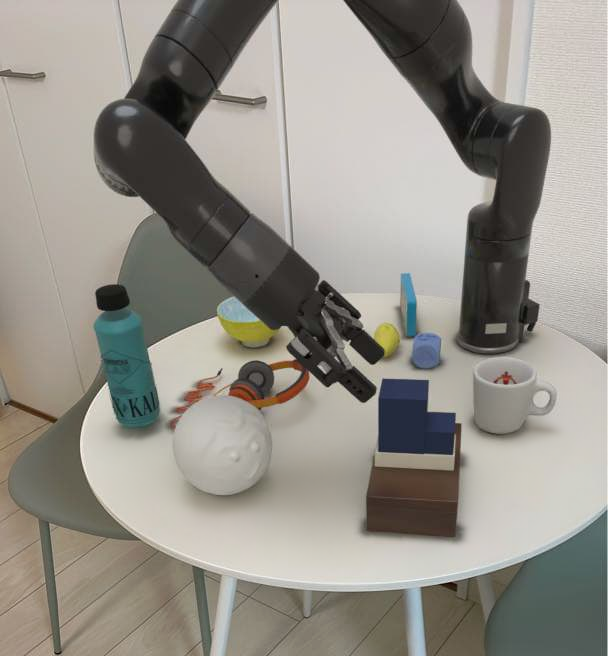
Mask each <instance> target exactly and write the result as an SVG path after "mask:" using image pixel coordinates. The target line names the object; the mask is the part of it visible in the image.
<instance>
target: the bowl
mask: <svg viewBox="0 0 608 656" xmlns="http://www.w3.org/2000/svg"><path fill="white" fill-rule="evenodd" d="M216 314H217V317H218V320H219V323H220V325H221V326H222V328H223V330H224V331H225V332H226V333H227V334H228V335H229V336H230V337H232V338H234V339H235V340H237V341H240V342H241V344H242V345H243V346H245V347H247V348H260V347H263V346H266V345H267V344H268V343H269V342H270V338H272V337H273V336H274V335H276V334H277V333H278V332H279V331H280V330H281V328H279V329H277V330H271V329H270V328H268V327H267V326H266V325H265V324H264V323H263V322H262V321H261V320H260V319H258V318H257V317H256V316H255V315H254V314H253V313H252V312H251V311H250V310H248V309H247V308H246V307H245V306H244V305H243V304H242V303H241V302H240V301H239V300H237V299H236V298H235V297H234V296H231V297H229V298H226V299H225V300H223V301H222V302H220V303H219V304H218V306H217V308H216Z"/></svg>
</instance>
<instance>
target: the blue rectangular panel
mask: <svg viewBox="0 0 608 656" xmlns="http://www.w3.org/2000/svg"><path fill="white" fill-rule="evenodd" d="M399 292H400V293H399V294H400V299H399V310H400V314H401V319H402V323H403V328H404V333H405V337H406V338H411V337H412V338H414V337H415V336H416V335H417V307H418V306H417V305H418V301H417V296H416V293H415V289H414V284H413V281H412V275H411V273H410V272H403V273H400V291H399Z"/></svg>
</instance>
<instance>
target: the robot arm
mask: <svg viewBox="0 0 608 656" xmlns="http://www.w3.org/2000/svg"><path fill="white" fill-rule="evenodd" d="M279 1H280V0H177V1H176V2H175V4H174V5H173V6H172V8H171V10H170V11H169V13H168V14H167V16H166V18H165V20H164V21H163V23H162V24H161V25H160V27H159V29H158V30H157V32H156V33H155V35H154V37H153V38H152V41H150V43H149V45H148V47H147V49H146V51H145V53H144V56H143V58H142V60H141V64H140V67H139V71H138V74H137V76H136V78H135V80H134V81H133V83H132V85H131V87H130V88H129V89H128V92H127V93H126V94H125V96H124V98H119V99H116V100H114V101H112V102H110V103H108V104H107V105H106V106H104V108H103V109H102V110H101V111H100V112H99V115H98V116H97V119H96V121H95V124H94V129H93V161H94V164H95V168H96V171H97V173H98V175H99V177H100V178H101V180H102V181H103V183H104V184H105V185H106V187H108V188H109V189H110V190H111V191H113V192H114V193H116V194H117V195H121V196H124V197H126V198H127V197H129V198H138V197H139V198H141V200H142V201H143V202H144V203H146V204H147V205H148V206H149V207H150V208H151V209H152V210H153V211H154V212H155V213H156V214H157V215H158V216H160V218H161V219H162V220H163V221H164V223H165V225H166V228H167V229H168V231H169V234H170V235H171V236H172V238H174V239H175V241H176V242H177V243H178V244H180V246H182V248H184V249H185V250H186V251H187V252H188V253H189V254H190V255H191V256H192V257H193V258H195V259H196V260H197V261H198V262H199V263H200V264H201V265H202V266H203V267H204V268H206V269H207V271H208V272H210V273H211V274H212V276H213V277H214V278H215V280H217V282H218V283H219V284H220V285H221V286H222V287H223V288H224V289H225V290H226V291H227V292H229V293H230V295H232V297H235V298H236V299H237V300H239V301H240V302H241V303H242V304H243V305H244V306H245V307H246V308H247V309H248V310H250V311H251V312H252V313H253V314H254V315H255V316H256V317H257V318H258V319H260V320H261V321H262V322H263V323H264V324H265V325H266V326H267V327H268V328H270V329H271V330H277V329H279V328H280V329H282V327H287V328H288V330H289V331H290V332H291V333H292V335H293V336H294V338H293V339H292V340H290V342H288V343H287V345H286V346H285V348H286V351H287V352H288V353H289V354H290V355H292V357H293V358H294V359H297V360H298V361H299V362H300V363H301V364H302V365H303V366H304V367H305V368H306V369H307V370H308V371H309V374H310V375H312V376H313V377H314V378H315V379H316V380H317V381H319V382H320V383H321V385H323V386H324V387H325V388H330V387H331V386H332V385H334V384H337V383H339V384H340V385H341V386H342V387H343V388H344V389H345V390H346V391H347V392H348V393H350V394H351V395H352V396H353V397H354V398H355V399H356V400H357V401H359V402H360V403H361V404H366V403H368V401H370V400H371V399H372V398H373V397H374V396H376V394H377V390H378V387H377V385H375V384H374V383H373V382H372V381H371V380H370V379H369V378H368V377H367V376H365V374H363V373H362V372H361V371H360V370H359V369H358V368H357V367H356V366H355V365H353V364H352V363H351V361H350V359H349V358H348V356H347V355H346V353H345V348H346V346H345V342H347V343H348V342H349V343H348V345H349V346H350V347H351V348H352V350H354V351H355V352H356V353H357V354H358V355H360V356H361V358H362V359H364V360H365V361H366V362H367V363H368V364H369V365H371V366H375V365H376V364H377V363H378V362H379V361H380V360H382V359H383V358H385V357H384V354H385V350H384V348H383V347H382V346H380V345H379V344H378V343H377V342H376V341H375V340H374V337H372V336H371V334H369V333H368V332H367V330H365V329H363V328H364V324H363V323H362V322H361V320H360V319H361V318H362V314H361V312H360V311H359V310H358V309H357V308H356V307H355V306H354V305H353V304H352V303H350V302H349V301H348V300H347V298H345V297H344V296H343V295H342V294H341V293H340V292H339V291H338V290H336V289H335V287H333V286H332V285H331V284H330V283H329V282H328V281H326V280H325V279H322V281H320V278H321V277H320V273H319V272H318V271H317V270H316V268H314V266H312V265H311V264H310V263H309V262H308V261H307V260H306V259H305V258H304V257H302V255H300V254H299V253H298V251H296V250H295V249H294V248H293V246H291V245H290V244H289V243H288V242H287V241H286V240H285V239H284V238H283V237H282V236H281V235H280V234H279V233H278V232H277V231H276V230H275V229H273V227H271V226H270V225H269V224H267V223H266V222H265V221H263V220H262V219H261V218H259V217H258V216H256V214H254V213H253V212H252V211H251V210H250V209H249V208H248V207H247V206H246V205H245V204H244V203H243V202H242V201H240V200H239V199H238V198H237V196H235V195H234V193H232V192H231V191H230V190H229V189H228V188H227V187H226V186H224V185H223V184H222V183H220V181H218V179H216V177H215V176H214V175H213V174H212V173H211V171H210V170H209V168H208V167H207V166H206V164H205V163H204V161H203V160H202V159H201V158H200V156H199V155H198V154H197V153H196V151H195V150H194V149H193V147H192V146H191V145H190V144H189V143H188V142H189V141H187V140H186V139H187V137H188V136H189V134H190V132H191V130H192V129H193V126H194V125H195V123H196V121H197V120H198V118H199V117H200V115H201V114H202V113H203V112H204V110H205V109H206V107H207V106H208V105H209V104H210V102H211V101H212V100H213V98H214V97H215V96H216V93H217V92H218V91H219V90H220V88H221V86H222V84H223V83H224V81H225V80H226V78H227V77H228V75H229V73H230V72H231V70H232V69H233V67H234V66H235V64H236V63H237V61H238V59H239V57H240V56H241V54H242V52H243V51H244V50H245V49H246V47H247V45H248V43H249V42H250V41H251V39H252V38H253V37H254V35H255V33H256V32H257V31H258V29H259V27H260V26H261V25H262V23H264V20H265V19H266V18H267V16H269V14H270V13H271V11H272V10H273V9H274V7H275V6H276V4H277V3H279ZM342 1H343V3H344V4H345V5H346V6H347V7H348V9H349V10H350V11H351V12H352V13H353V15H354V16H355V17H356V19H357V20H358V21H359V23H361V25H362V26H363V27H364V28H365V29H366V31H367V32H368V33H369V35H370V36H371V37H372V39H373V40H374V42H375V43H376V45H377V46H378V48H379V49H380V50H381V52H382V53H383V54H384V56H385V57H386V58H387V59H388V60H389V62H390V63H391V64H392V65H393V67H394V68H395V69H396V70H397V72H398V73H399V74H400V75H401V77H402V78H403V79H404V80H405V81H406V82H407V84H408V85H409V86H410V87H411V88H412V90H413V91H414V92H415V94H416V95H417V96H418V97H419V99H420V100H421V102H422V103H423V104H424V105H425V106H426V108H427V109H428V110H429V111H430V112H431V114H432V115H433V116H434V117H435V119H436V120H437V122H438V123H439V125H440V126H441V128H442V130H443V132H444V133H445V135H446V136H447V138H448V140H449V142H450V144H451V145H452V147H453V149H454V150H455V152H456V153H457V155H458V157H459V159H460V161H461V162H462V164H463V165H464V166H465V167H466V168H467V169H468V170H469V171H470V172H471V173H473V174H475V175H477V176H479V177H481V178H486V179H490V180H493V181H495V186H494V192H493V196H492V200H488V201H485V202H482V203H478V204H477V205H474V206H473V207H472V208H470V209H469V212H468V214H467V219H466V232H465V234H466V235H465V245H464V246H465V247H464V257H463V258H464V260H463V272H462V273H463V274H462V286H461V296H460V297H461V299H460V311H459V322H458V323H459V326H458V332H457V343H458V344H459V346H461V347H462V348H463V349H465V350H467V351H470V352H473V353H478V354H487V355H491V354H500V353H501V354H502V353H505V352H509V351H510V350H513V349H515V347H517V346H518V344H519V343H521V342H523V341H524V335H525V328H526V331H527V332H531V333H532V332H533V330H534V328H535V326H536V324H537V322H538V321H539V320H538V319H539V312H540V307H541V304H540V303H538V302H536V301H534V300H532V299H531V298H529V296H530V289H531V282H530V280H528V279H526V278H527V271H528V263H529V256H530V255H529V254H530V248H531V247H530V246H531V240H532V232H533V224H534V221H535V218H536V216H537V213H538V211H539V209H540V205H541V201H542V197H543V191H544V186H545V181H546V175H547V170H548V165H549V164H548V163H549V159H550V154H551V146H552V127H551V122H550V119H549V116H548V115H547V113H546V112H544V111H543V110H542V109H541V108H537V107H533V106H527V105H521V104H515V103H510V102H506V101H501V100H499V99H497V98H496V97H495V96H494V95H493V94H492V93H491V92H490V91H489V90H488V89H487V87H485V85H484V84H483V82H482V81H481V80H480V78H479V77H478V76H477V74H476V72H475V70H474V67H473V47H474V46H473V45H474V44H473V32H472V29H471V28H472V27H471V24H470V22H469V19H468V17H467V14H466V13H465V11H464V9H463V8H462V6H461V4H460V2H459V1H458V0H342ZM526 326H527V327H526ZM280 329H279V330H280ZM319 366H320V367H321V368H320V367H319ZM322 369H323V370H322Z"/></svg>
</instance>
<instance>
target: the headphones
mask: <svg viewBox="0 0 608 656" xmlns="http://www.w3.org/2000/svg"><path fill="white" fill-rule="evenodd" d="M284 369H293V370H295V371H298V372H301V373H300V375H299V376H298V378H297V379H296V381H294V382H293V383H292V384H291V385H289V386H288V387H286V388H285V389H283V390H281V391H280V392H277V393H276V394H275V395H273V396H271V397H267V398H265V395H266V394H268V393H269V392H270V391H271V390H272V389H273V386H274V384H275V373H274V372H275V371H279V370H284ZM223 370H224V369H223V367H221V368H220V369H219V370H218V372H217V373H216V375H215V376H211V377H207V378H204V379H203V378H202V379H200V380H199V381H197V384H196V386H197V387H196V390H191V391H188V392H187V395H185V396H183V400H188V402H187V403H189V404H188V405H185V406H179V407H176V408H175V409H174V411H175V412H181V411H186V410H187V409H188V408H189V407H191V406H192V405H193V404H194V403H196V402H198V401H200V400H201V399H203V395H201V392H205V391H209V390H214V389H216V386H215V385H214V383H213V382H206V383H202V382H204V381H209V380H213V379H216V378H218V377H220V376H221V374H222V371H223ZM309 381H310V372H309V371H308V370H307V369H306V368H305V367H304V366H303V365H302V364H301V363H300V362H299V361H298V360H297V359H296V358H294V359H293V360H282V361H277V362H273V363H270V364H268V363H266V362H265V361H262V360H258V359H254V360H250V361H247V362H246V363H244V364H243V365H242V366H241V367H240V369H239V371H238V373H237V379H235V380H234V381H233V382H231V383H230V384H228V385H226V386H224V387H222V388H221V389H220V390H218V391H216V392H215V393H214V394H213V395H212V396H217V395H218V394H219V393H221V392H222V391H224V390H225V389H227V388H229V392H228V395H227V396H233V397H237V398H240V399H242V400H244V401H246V402H248V403H250V404H252V405H253V406H255V407H256V408H257V409H258V410H259V411H261V410H262V409H263V408H266V407H272V406H275V405H282V404H284V403H287V402H288V401H290V400H293V398H295V397H297V396H298V395H299V394H300V393H301V392H303V390H304V389H305V388H306V387H307V385H308V383H309ZM200 383H201V384H200ZM182 415H183V414H181V415H179V416H176V417H175V418H173V419H171V420H170V422H169V425H170V427H172V428H174V429H175V428H176V426H177V425H173V424H172V423H173V422H174V421H176V420H178V419H180V418H181V416H182Z"/></svg>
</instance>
